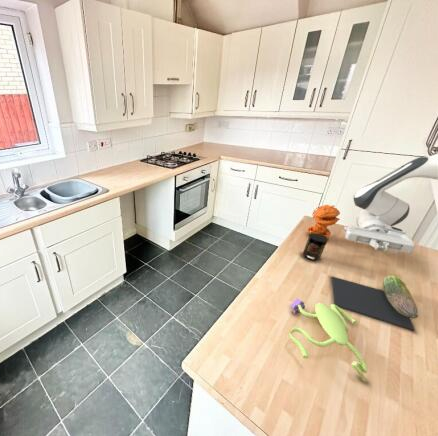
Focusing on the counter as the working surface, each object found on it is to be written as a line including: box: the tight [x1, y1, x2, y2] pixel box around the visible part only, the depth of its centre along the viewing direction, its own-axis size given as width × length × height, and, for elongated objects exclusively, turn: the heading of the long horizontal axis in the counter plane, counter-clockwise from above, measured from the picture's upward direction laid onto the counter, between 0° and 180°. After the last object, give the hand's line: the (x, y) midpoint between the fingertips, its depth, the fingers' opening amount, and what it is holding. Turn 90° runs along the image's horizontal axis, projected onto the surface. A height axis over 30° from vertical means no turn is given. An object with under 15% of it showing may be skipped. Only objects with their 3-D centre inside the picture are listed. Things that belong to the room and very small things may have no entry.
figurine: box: [289, 298, 368, 383], centre depth 72 cm, size 18×27×6 cm
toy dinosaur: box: [306, 204, 341, 240], centre depth 116 cm, size 11×11×18 cm
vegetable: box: [382, 275, 419, 320], centre depth 81 cm, size 6×6×20 cm
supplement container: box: [302, 233, 329, 262], centre depth 104 cm, size 7×7×10 cm
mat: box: [331, 276, 415, 332], centre depth 84 cm, size 20×16×1 cm
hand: (381, 249), depth 89 cm, fingers closed
